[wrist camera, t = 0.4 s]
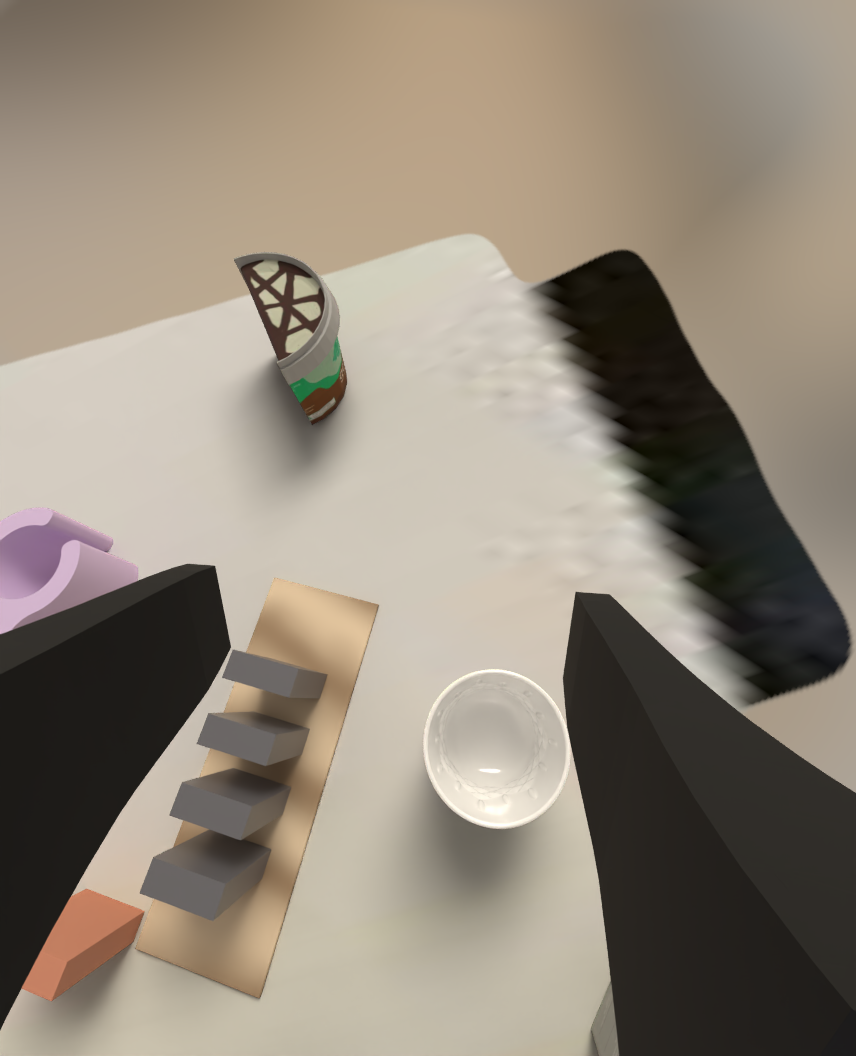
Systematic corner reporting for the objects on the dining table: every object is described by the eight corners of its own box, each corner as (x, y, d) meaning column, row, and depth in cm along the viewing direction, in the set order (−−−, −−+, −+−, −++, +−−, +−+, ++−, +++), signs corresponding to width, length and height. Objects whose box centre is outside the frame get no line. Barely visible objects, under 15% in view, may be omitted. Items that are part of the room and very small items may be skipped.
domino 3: (282, 814, 35) (240, 840, 28) (223, 794, 36) (169, 815, 29) (291, 786, 36) (252, 806, 29) (233, 767, 36) (181, 782, 30)
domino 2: (301, 754, 36) (265, 766, 30) (244, 736, 37) (196, 743, 30) (310, 728, 37) (276, 734, 30) (253, 711, 37) (208, 713, 31)
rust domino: (133, 941, 33) (51, 1001, 27) (74, 918, 34) (-20, 970, 27) (144, 911, 34) (67, 961, 27) (86, 888, 35) (-3, 933, 28)
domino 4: (262, 878, 34) (213, 921, 27) (201, 856, 34) (139, 893, 28) (271, 848, 34) (225, 883, 28) (211, 828, 35) (153, 857, 28)
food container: (379, 411, 46) (357, 336, 36) (317, 437, 45) (279, 368, 36) (333, 316, 50) (302, 226, 40) (275, 339, 49) (231, 253, 40)
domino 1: (319, 698, 37) (289, 697, 31) (264, 681, 38) (222, 677, 32) (327, 674, 38) (298, 668, 31) (272, 658, 39) (232, 649, 32)
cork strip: (260, 995, 32) (259, 998, 32) (138, 946, 33) (135, 948, 33) (378, 605, 40) (378, 604, 39) (275, 578, 41) (274, 577, 41)
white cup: (564, 726, 36) (600, 734, 27) (498, 821, 34) (512, 866, 25) (477, 655, 38) (481, 640, 29) (411, 742, 36) (393, 756, 27)
